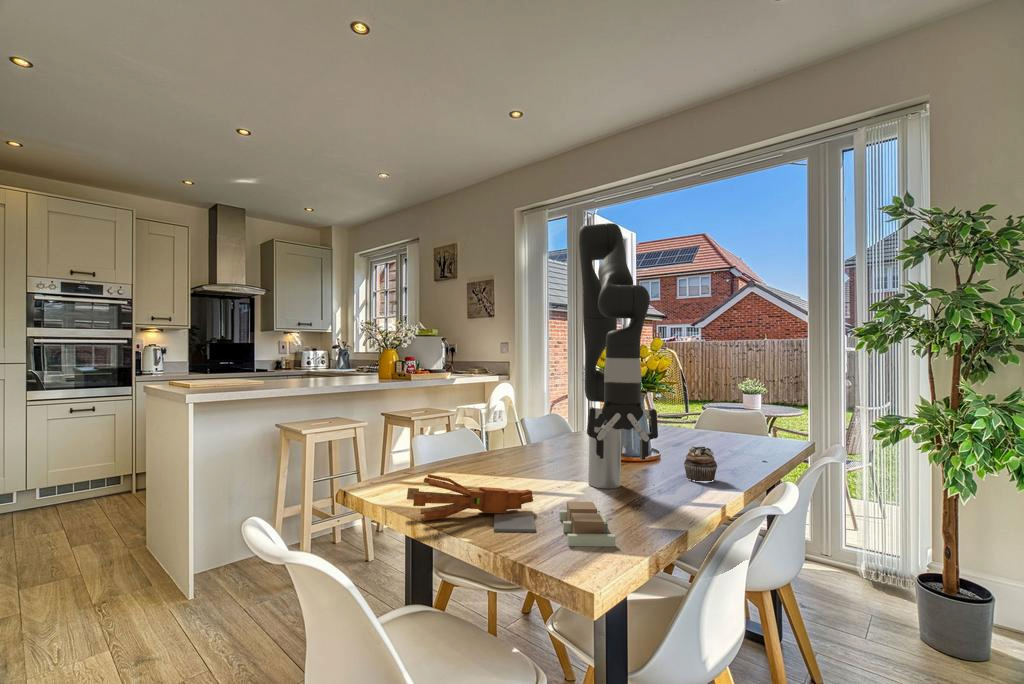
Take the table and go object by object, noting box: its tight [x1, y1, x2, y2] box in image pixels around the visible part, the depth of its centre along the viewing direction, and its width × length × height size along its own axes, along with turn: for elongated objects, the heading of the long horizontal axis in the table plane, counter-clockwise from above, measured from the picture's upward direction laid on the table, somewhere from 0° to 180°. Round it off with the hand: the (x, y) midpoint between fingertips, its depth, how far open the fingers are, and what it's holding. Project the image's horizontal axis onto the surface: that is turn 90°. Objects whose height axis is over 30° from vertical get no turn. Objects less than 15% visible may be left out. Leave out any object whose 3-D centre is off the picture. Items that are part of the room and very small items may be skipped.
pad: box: [493, 513, 537, 533], centre depth 110 cm, size 9×9×1 cm
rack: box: [558, 501, 616, 547], centre depth 106 cm, size 16×10×4 cm, turn 1°
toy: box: [406, 473, 534, 522], centre depth 116 cm, size 10×11×30 cm
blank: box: [570, 513, 605, 534], centre depth 102 cm, size 5×6×4 cm
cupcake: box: [683, 446, 718, 481], centre depth 151 cm, size 10×10×10 cm
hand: (621, 458), depth 102 cm, fingers open, 8 cm apart
